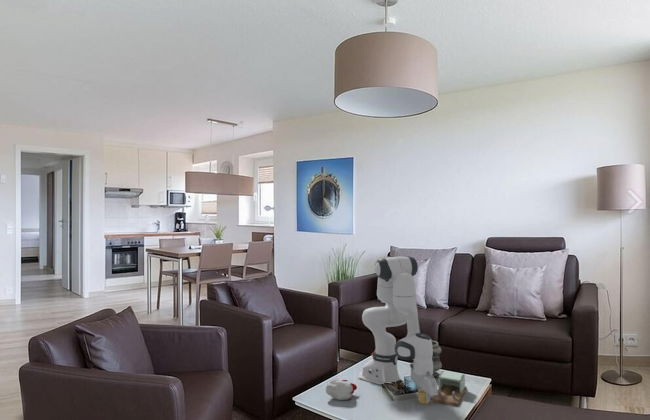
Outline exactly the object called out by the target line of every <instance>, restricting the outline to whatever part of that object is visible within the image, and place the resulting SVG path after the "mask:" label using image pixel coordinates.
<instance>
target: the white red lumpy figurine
mask: <svg viewBox="0 0 650 420" xmlns="http://www.w3.org/2000/svg"><path fill="white" fill-rule="evenodd" d="M325 388H326V389H325V393H326V394H327V395H328V396H330V397H331V398H332V399H334V400H338V401H347V400H351V398H352V397H353V394H354V393H355V391H356V390H357V389H358V387H357V385H356V384H355V383H352V382H349V381H348V380H347V379H342V380H340V379H339V378H338V379H336V378H335V379H332V380H331V381H330V383H328V384H327V385H326V386H325Z"/></svg>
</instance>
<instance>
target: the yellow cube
mask: <svg viewBox="0 0 650 420" xmlns="http://www.w3.org/2000/svg"><path fill="white" fill-rule="evenodd" d="M425 397H426V392H424V391H423V390H421V391H420V392H419V394H418V403H419V404H425V405H429V403H430V402H427V401H425Z"/></svg>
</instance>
